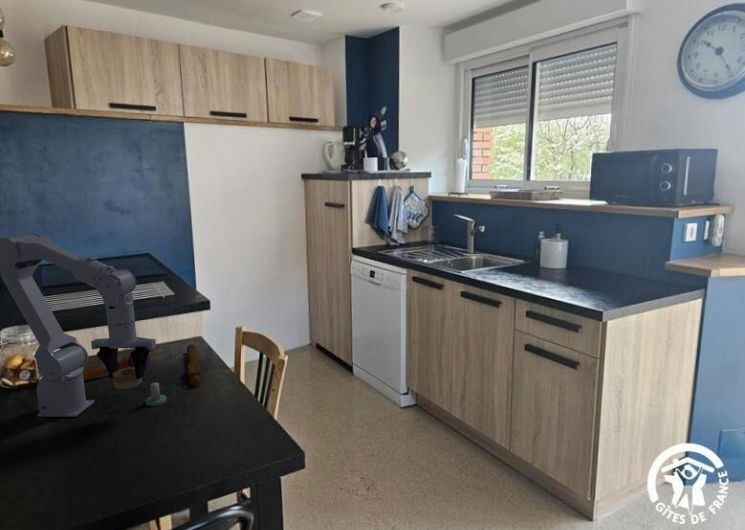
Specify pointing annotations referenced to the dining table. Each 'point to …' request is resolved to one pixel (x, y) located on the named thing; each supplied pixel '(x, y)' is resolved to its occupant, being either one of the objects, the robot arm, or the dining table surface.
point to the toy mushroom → (155, 396)
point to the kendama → (95, 372)
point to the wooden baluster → (193, 366)
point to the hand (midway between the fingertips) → (127, 377)
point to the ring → (125, 378)
